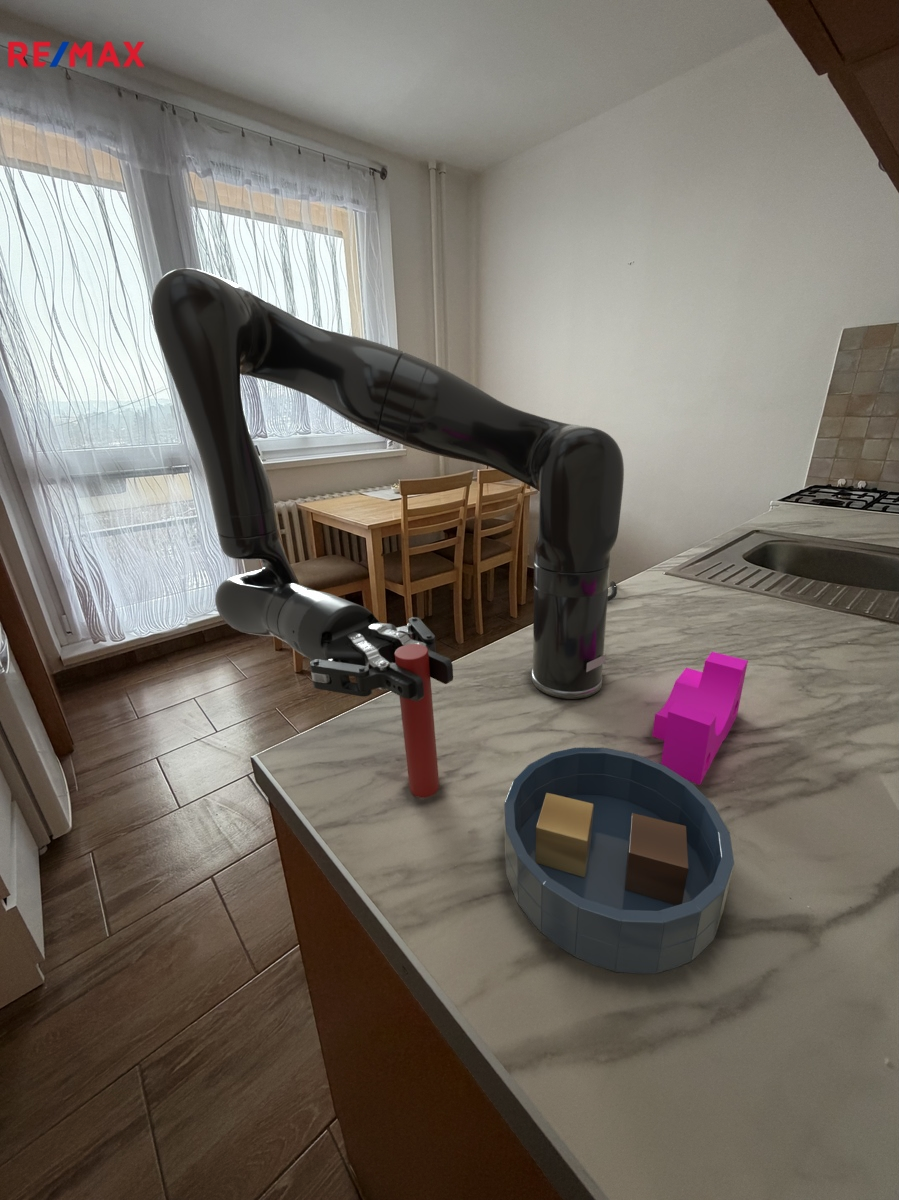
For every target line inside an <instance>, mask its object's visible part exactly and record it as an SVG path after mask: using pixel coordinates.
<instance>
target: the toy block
mask: <svg viewBox="0 0 899 1200" xmlns="http://www.w3.org/2000/svg"><path fill="white" fill-rule="evenodd" d="M748 662H749V661H748V660H747V659H743V658H739V657H735V656H731V655H727V654H723V653H720V652H715V651H711V652H710V653H709V655H708V656H707V657H706V659H705V661H704V665H703V669H702V671H700V670H697V669H693V668H689V667H685V668H684V670H683V671H682V672H681V673H680V675H679V676H678V677H677V679H676V680H675V681H674V684H673V685H672V686H673V687H672V689H671V692H670V694H669V696H668V698H667V700H666V701H665V704H664V705H663V707H662V708H661V709H660V710H659V711H658V712H656V713H654V720H653V727H652V728H653V729H652V737H653V738H656V739H659V740H661V741H663V747H662V755H661V762H660V764H662V765H664V766H666V767H668V768H669V769H671V770H672V771H674V772H675V773H677V774H678V775H680V776H682V777H683V778H685V779H686V780H688V781H689V782H691V783H694V784H696V785H699V786H701V784H702V782H703V781H704V778H705V776H706V774H707V772H708V771H709V769H710V767H711V765H712V763H713V761H714V759H715V757H716V755H717V753H718V751H719V750H720V747H721V745H722V743H723V742H724V741H726V739H727V736H728V734H729V733H730V731H731V729H732V727H733V725H734V722H735V721H736V718H737V717H738V712H739V709H740V703H741V702H740V701H741V698H742V692H743V688H744V683H745V678H746V673H747V668H748Z"/></svg>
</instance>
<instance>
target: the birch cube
mask: <svg viewBox="0 0 899 1200" xmlns="http://www.w3.org/2000/svg"><path fill="white" fill-rule="evenodd" d="M593 808H594V805H593V804H592V803H588V802H584V801H580V800H575V799H571V798H567V797H563V796H559V795H555V794H551V793H546V795H545V799H544V802H543V806H542V809H541V812H540V816H539V819H538V823H537V826H536V863H537V864H541V865H544V866H548V867H551V868H554V869H558V870H561V871H564V872H568V873H571V874H574V875H578V876H581V877H585V874H586V868H587V862H588V856H589V850H590V843H591V835H592V822H593Z"/></svg>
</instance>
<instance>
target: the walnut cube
mask: <svg viewBox="0 0 899 1200" xmlns="http://www.w3.org/2000/svg"><path fill="white" fill-rule="evenodd" d="M687 874H688V850H687V831H686V826H684V825H680V824H676V823H671V822H667V821H663V820H659V819H655V818H651V817H647V816H642V815H638V814H634V813H632V818H631V826H630V835H629V844H628V855H627V868H626V880H625V890H627V891H630V892H634V893H637V894H640V895H644V896H647V897H650V898H654V899H657V900H660V901H664V902H667V903H670V904H674V905H680V904H682V902H683V896H684V890H685V885H686V879H687Z"/></svg>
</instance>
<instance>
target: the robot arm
mask: <svg viewBox="0 0 899 1200" xmlns="http://www.w3.org/2000/svg"><path fill="white" fill-rule="evenodd" d="M154 287H155V288H154V290H153V293H152V298H151V309H150V310H151V317H152V322H153V327H154V331H155V334H156V337H157V341H158V343H159V346H160V349H161V352H162V354H163V357H164V360H165V363H166V365H167V367H168V370H169V373H170V375H171V378H172V381H173V384H174V386H175V388H176V391H177V394H178V396H179V400H180V402H181V406H182V408H183V410H184V413H185V417H186V420H187V422H188V425H189V427H190V431H191V433H192V436H193V439H194V442H195V446H196V449H197V451H198V454H199V455H198V456H199V458H200V461H201V464H202V465H201V466H202V468H203V472H204V475H205V480H206V483H207V487H208V491H209V496H210V501H211V507H212V512H213V517H214V523H215V527H216V532H217V537H218V541H219V545H220V549H221V551H222V552H223V554H224V555H225V556H226V557H229V558H231V559H234V560H243V561H245V560H246V561H247V560H248V561H252V560H260V561H261V564H262V568H259V569H255V570H251V571H248V572H244V573H240V574H237V575H232V576H230V577H228V578H226V579H224V580H223V581H222V582H221V583H220V585H218V587H217V588H216V592H215V595H214V596H215V597H214V603H215V607H216V610H217V612H218V614H219V616H220V617H221V619H222V620H223V621H224V622H225V623H226V624H227V625H228V626H230V627H231V628H232V629H234V630H236V631H239V632H240V633H245V634H248V635H255V636H263V637H275V638H277V639H278V640H280V641H282V642H283V643H286V644H287V645H288V646H290V647H291V648H292V650H293V651H295V652H296V653H298V654H300V655H301V656H303V657H305V658H307V659H309V660H310V662H309V667H310V668H309V669H310V674H311V679H312V680H311V681H312V685H313V688H314V689H316V690H321V691H328V692H333V693H339V694H345V695H350V696H351V695H352V696H357V697H363V698H364V697H365V698H366V697H368V696H370V695H372V694H373V690H375V689H378V690H380V691H389V692H392V693H393V694H395V695H397V696H401V697H403V698H406V699H412V700H414V701H419V700H420V699H422V698H424V686H423V680H422V678H421V677H420V676H419V675H417V674H415V673H412V672H410V671H408V670H406V669H404V668H402V667H399V666H398V665H396V661H395V651H396V650H397V649H398V648H399V647H401V646H404V645H408V644H420V645H423V646H425V647H427V649H428V654H429V667H430V679H433V680H436V681H438V682H440V683H441V684H444V685H447V684H449V683H451V682H453V680H454V667H453V663H452V662H453V661H452V659H451V658H449V657H447V656H445V655H442V654H441V653H438V652H437V649H436V635H435V634H434V633H433V632H432V631H431V630H430V628H429V627H428V626H427V625H426V624H425V623H424V622H423V620H422V619H421V618H420V617H418V616H413V617H410V618H408V623H407V625H402V626H398V627H396V625H394V624H393V623H386V622H380V620H378V619H377V617H376V616H375V615H374V614H373V613H372V612H371V611H370V610H369V609H368V608H367V607H365V606H362V605H360V604H358V603H355V602H352V601H350V600H348V599H345V598H342V597H340V596H337V595H335V594H333V593H329V592H325V591H320V590H317V589H313V588H311V587H308V586H305V585H303V584H300V582H299V579H298V577H297V576H296V574H295V571H294V570H293V567H292V565H291V563H290V561H289V559H288V556H287V553H286V551H285V549H284V546H283V543H282V541H281V537H280V533H279V527H278V519H277V514H276V512H277V511H276V506H275V505H276V504H275V499H274V493H273V490H272V486H271V482H270V479H269V476H268V473H267V470H266V469H265V466H264V463H263V461H262V459H261V457H260V455H259V453H258V450H257V448H256V445H255V442H254V440H253V438H252V434H251V432H250V429H249V425H248V423H247V418H246V414H245V410H244V408H245V407H244V403H243V397H242V396H243V395H242V380H241V376H245V377H250V378H254V379H258V380H262V381H265V382H269V383H272V384H276V385H279V386H282V387H285V388H289V389H292V390H294V391H296V392H299V393H301V394H303V395H306V396H307V397H309V398H311V399H312V400H315V401H317V402H318V403H320V404H321V405H323V406H325V407H326V408H327V409H329V410H330V411H332V412H333V413H335V414H337V415H338V416H340V417H342V418H343V419H345V420H346V421H348V422H350V423H351V424H353V425H355V426H356V427H359V428H361V429H363V430H365V431H367V432H368V433H372V434H373V435H375V436H379V437H380V438H381V437H382V438H384V439H386V440H390V441H392V442H395V443H396V444H399V445H403V446H405V447H408V448H411V449H415V450H417V451H421V452H424V453H428V454H431V455H435V456H440V457H443V458H449V459H455V460H460V461H466V462H471V463H475V464H480V465H483V466H487V467H489V468H491V469H494V470H496V471H499V472H501V473H503V474H505V475H508V476H510V477H512V478H513V479H515V480H518V481H520V482H521V483H524V484H525V485H528V486H529V487H531V488H533V489H535V490H536V491H538V492H539V497H538V498H539V501H538V502H539V504H538V530H537V536H536V539H535V541H534V545H533V546H534V547H533V620H532V621H533V623H532V624H533V625H532V627H533V631H532V635H533V636H532V670H531V681H532V684H533V685H534V687H535V688H536V689H538V690H539V691H540V692H542V693H544V694H546V695H547V696H548V695H549V696H551V697H554V698H558V699H559V698H560V699H567V700H577V699H585V698H588V697H591V696H594V695H595V694H597V693H598V692H599V691H600V690H601V688H602V686H603V666H604V664H606V658H607V653H606V654H604V653H605V640H606V628H607V627H606V626H607V613H608V612H607V611H608V602H609V601H612V600H613V599H614V598H616V596H617V593H618V588H617V584H616V582H615V581H614V580H611V582H610V570H611V569H610V567H611V566H610V565H611V558H612V557H611V556H612V551H613V548H614V547H615V544H616V542H617V539H618V534H619V528H620V519H621V510H622V501H623V492H624V482H625V481H624V479H625V464H624V458H623V453H622V450H621V448H620V446H619V444H618V443H617V441H616V440H615V438H613V437H612V436H611V435H610V434H609V433H607V432H605V430H602V429H599V428H596V427H592V426H587V425H586V426H585V425H579V424H571V423H565V422H562V421H557V420H553V419H549V418H547V417H542V416H540V415H536V414H533V413H529V412H527V411H523V410H520V409H518V408H515V407H512V406H510V405H508V404H507V403H504V402H502V401H501V400H499V399H497V398H495V397H494V396H492V395H490V394H489V393H488V392H486V391H484V390H482V389H481V388H479V387H478V386H476V385H474V384H473V383H471V382H469V381H467V380H465V379H464V378H462V377H460V376H458V375H456V374H454V373H453V372H451V371H449V370H447V369H445V368H443V367H441V366H438V365H436V364H434V363H432V362H429V361H428V360H424V359H423V358H419V357H417V356H414V355H412V354H410V353H407V352H404V351H403V350H399V349H397V348H394V347H391V346H388V345H385V344H382V343H380V342H376V341H373V340H370V339H366V338H362V337H358V336H354V335H350V334H346V333H341V332H338V331H333V330H329V329H326V328H323V327H319V326H317V325H314V324H312V323H310V322H308V321H305V320H303V319H302V318H300V317H298V316H295V315H293V314H291V313H289V312H287V311H286V310H284V309H281V308H280V307H277V306H276V305H274V304H272V303H271V302H268V301H267V300H264V299H263V298H262V297H259V296H258V295H256V294H255V293H252V292H251V291H249V290H247V289H246V288H244V287H243V286H242V285H239V284H237V283H235V282H233V281H232V280H229V279H225V278H223V277H220V276H217V275H215V274H212V273H209V272H206V271H203V270H200V269H196V268H190V267H183V268H176V269H173V270H171V271H169V272H167V273H166V274H164V275H163V276H162V277H161V278H160V279H159V281H158V282H157V284H156V285H155V286H154ZM609 582H610V583H609ZM609 586H610V587H611V591H612V592H611V594H609ZM614 586H616V587H614ZM350 677H355V681H356V682H353V681H351V680H350Z"/></svg>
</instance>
